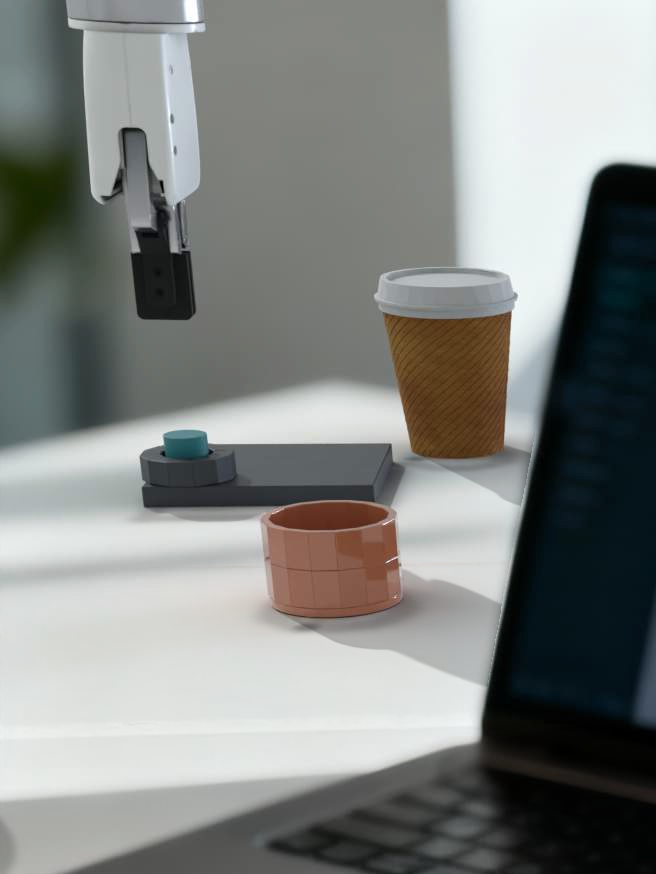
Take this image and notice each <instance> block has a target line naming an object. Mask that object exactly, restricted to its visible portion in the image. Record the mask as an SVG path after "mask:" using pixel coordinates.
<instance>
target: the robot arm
mask: <svg viewBox="0 0 656 874" xmlns="http://www.w3.org/2000/svg"><path fill="white" fill-rule="evenodd" d="M65 3H66V5H65V6H66V13H67V24H68V28H71V29H75V30H82V31H83V37H82V39H83V40H82V41H83V42H82V70H83V72H82V73H83V94H84V110H85V111H84V112H85V123H86V124H85V125H86V126H85V127H86V141H87V153H88V154H87V155H88V168H89V180H90V192H91V196H92V197H93V199H94V200H95V201H96V202H98V203H99V204H101V205H109V204H110V203H112V202H114V201H116V200H118V198H120V197H122V196H123V199H124V200H123V201H124V208H125V214H126V215H125V216H126V220H127V228H128V235H129V244H130V250H131V252H130V261H131V269H132V279H133V288H134V289H133V290H134V297H135V308H136V314H137V316H138V318H140V319H141V320H146V321H149V320H150V321H151V320H152V321H189V320H191V319H192V318H193V316H195V315H196V313H197V303H196V291H195V282H194V272H193V261H192V252H191V251H192V250H188V249H189V233H188V232H189V231H188V219H187V207H186V205H187V203H186V198H187V197H188V196H190V195H191V194H193V193H194V192H195V191H196V190H197V189H199V186H200V184H201V183H200V182H201V155H200V143H199V129H198V120H197V119H198V118H197V109H196V99H195V91H194V81H193V75H192V74H193V73H192V66H191V65H192V60H191V58H190V50H189V42H188V34H194V33H204V32H206V23H205V13H204V2H203V0H65Z"/></svg>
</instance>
